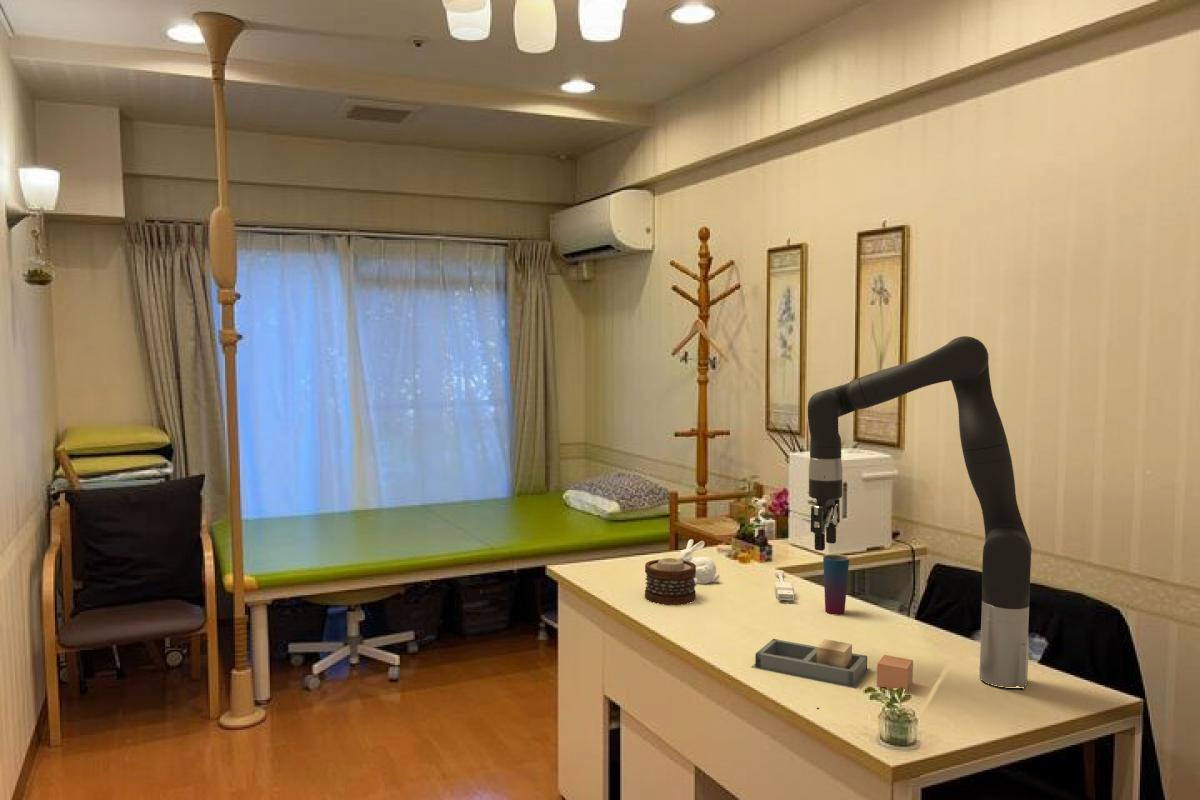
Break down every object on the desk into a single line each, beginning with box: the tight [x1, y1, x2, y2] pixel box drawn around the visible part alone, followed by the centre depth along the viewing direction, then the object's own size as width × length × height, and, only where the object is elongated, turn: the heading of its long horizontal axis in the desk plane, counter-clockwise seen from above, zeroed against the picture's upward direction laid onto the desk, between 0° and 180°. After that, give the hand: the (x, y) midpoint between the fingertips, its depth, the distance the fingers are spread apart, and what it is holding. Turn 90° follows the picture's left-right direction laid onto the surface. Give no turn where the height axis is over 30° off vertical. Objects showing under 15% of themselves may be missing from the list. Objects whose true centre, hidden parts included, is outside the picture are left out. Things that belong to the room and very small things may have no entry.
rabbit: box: [678, 539, 721, 585], centre depth 273 cm, size 12×9×12 cm
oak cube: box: [816, 638, 853, 669], centre depth 195 cm, size 6×6×6 cm
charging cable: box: [774, 569, 795, 601], centre depth 266 cm, size 5×32×3 cm, turn 172°
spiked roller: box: [644, 557, 697, 606], centre depth 255 cm, size 15×11×15 cm
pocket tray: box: [751, 638, 872, 689], centre depth 198 cm, size 23×13×4 cm, turn 59°
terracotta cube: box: [876, 654, 914, 693], centre depth 189 cm, size 6×6×6 cm
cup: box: [822, 554, 850, 616], centre depth 242 cm, size 7×7×15 cm
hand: (825, 546), depth 208 cm, fingers open, 8 cm apart
